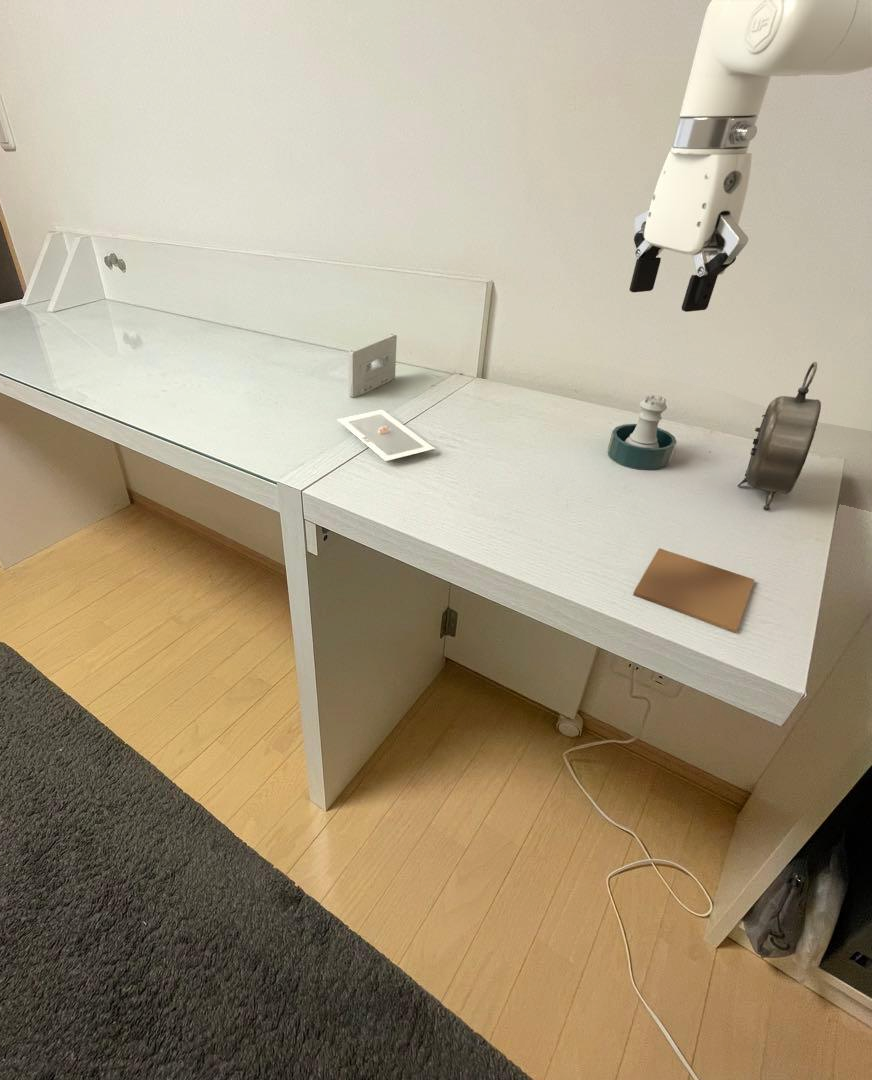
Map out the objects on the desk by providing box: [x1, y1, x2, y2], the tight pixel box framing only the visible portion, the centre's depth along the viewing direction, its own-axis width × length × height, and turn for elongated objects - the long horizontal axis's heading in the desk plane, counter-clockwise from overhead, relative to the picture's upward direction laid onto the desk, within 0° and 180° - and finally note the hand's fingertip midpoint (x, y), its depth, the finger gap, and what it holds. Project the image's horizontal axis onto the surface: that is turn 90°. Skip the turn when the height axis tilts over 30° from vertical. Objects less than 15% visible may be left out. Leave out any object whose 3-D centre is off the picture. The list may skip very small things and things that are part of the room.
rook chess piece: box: [625, 394, 668, 448], centre depth 81 cm, size 4×4×8 cm
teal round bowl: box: [606, 423, 677, 471], centre depth 82 cm, size 8×8×3 cm
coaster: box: [632, 547, 755, 634], centre depth 60 cm, size 9×9×1 cm
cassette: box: [348, 333, 398, 398], centre depth 103 cm, size 12×2×8 cm, turn 139°
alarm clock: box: [737, 361, 822, 511], centre depth 70 cm, size 11×5×16 cm, turn 147°
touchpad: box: [336, 409, 436, 462], centre depth 88 cm, size 8×15×2 cm, turn 25°
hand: (665, 300), depth 77 cm, fingers open, 9 cm apart
